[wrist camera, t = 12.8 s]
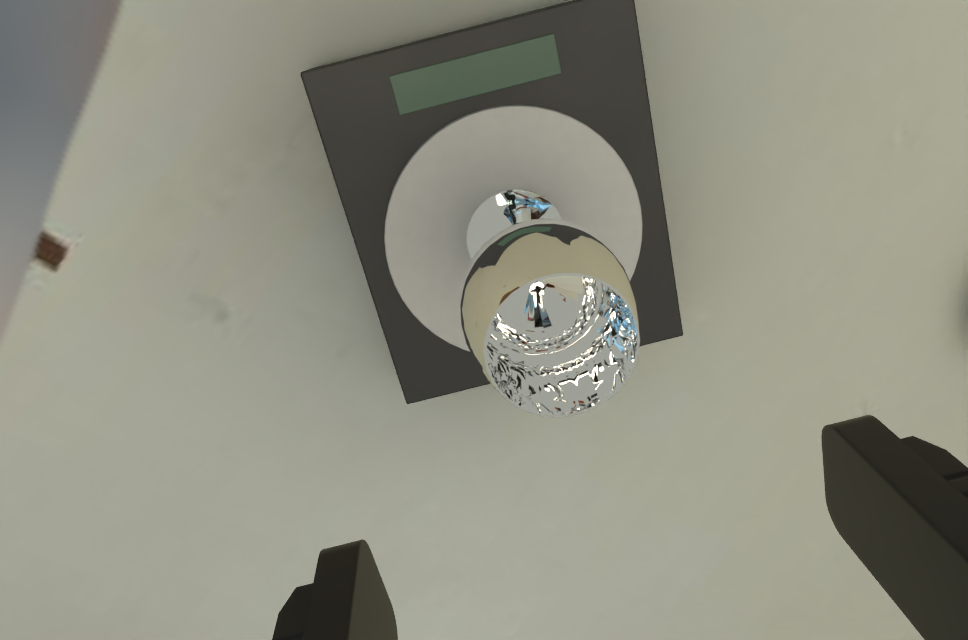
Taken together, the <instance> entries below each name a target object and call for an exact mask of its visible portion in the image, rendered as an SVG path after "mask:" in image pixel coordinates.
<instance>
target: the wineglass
mask: <svg viewBox="0 0 968 640" xmlns="http://www.w3.org/2000/svg"><path fill="white" fill-rule="evenodd" d="M466 246H467V251H468V254H469V257H470V259H471V262H470V264H469V266H468V268H467V270H466V272H465V275H464V278H463V281H462V285H461V291H460V297H459V315H460V322H461V327H462V331H463V335H464V338H465V342H466V344H467V346H468V348H469V350H470V352H471V355H472V357H473V359H474V360H475V362H476V364H477V365H478V367H479V368H480V370H481V371H482V373H483V374H484V375H485V377H486V378H487V379H488V380H489V382H490V383H491V384H492V385H493V387H494V388H495V389H496V390H497V391H498V392H499V393H500V394H501V395H502V396H503V397H504V398H505V399H506V400H508V401H509V402H510V403H512V404H513V405H515V406H516V407H518V408H520V409H522V410H524V411H527V412H529V413H532V414H536V415H540V416H548V417H567V416H571V415H576V414H581V413H583V412H586V411H589V410H591V409H594V408H596V407H597V406H599V405H601V404H602V403H604V402H605V401H607V400H609V399H610V398H611V397H612V396H613V395H614V394H615V393H616V392H617V391H618V390H620V389H621V387H622V386H623V385H624V383H625V382H626V380H627V379H628V378H629V376H630V375H631V373H632V370H633V368H634V365H635V363H636V360H637V358H638V352H639V345H640V325H639V315H638V309H637V303H636V298H635V294H634V291H633V288H632V286H631V283H630V280H629V278H628V276H627V274H626V272H625V269H624V267H623V265H622V264H621V263H620V261H619V260H618V258H617V257H616V256H615V254H614V253H613V252H612V251H611V249H610V248H609V247H608V246H607V245H606V244H605V243H604V242H603V241H602V240H600V239H599V238H598V237H597V236H596V235H594V234H593V233H591V232H589V231H587V230H585V229H584V228H582V227H580V226H577V225H575V224H572V223H570V222H566V221H563V219H562V217H561V215H560V213H559V211H558V209H557V208H556V207H555V205H554V204H553V203H552V202H551V201H549V200H548V199H547V198H546V197H544V196H543V195H541V194H539V193H536V192H534V191H532V190H526V189H520V188H518V189H507V190H504V191H501V192H497V193H495V194H493V195H492V196H490V197H488V198H487V199H486V200H484V201H483V202H482V203H481V204H480V205H479V206H478V207H477V209H476V210H475V211H474V213H473V214H472V216H471V219H470V221H469V223H468V227H467V232H466Z"/></svg>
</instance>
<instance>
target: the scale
mask: <svg viewBox="0 0 968 640" xmlns="http://www.w3.org/2000/svg"><path fill="white" fill-rule="evenodd" d="M301 77H302V80H303V84H304V87H305V90H306V93H307V96H308V99H309V102H310V105H311V108H312V112H313V115H314V118H315V121H316V124H317V127H318V130H319V133H320V136H321V139H322V143H323V146H324V149H325V152H326V155H327V158H328V161H329V164H330V167H331V170H332V174H333V177H334V180H335V183H336V186H337V189H338V192H339V195H340V198H341V201H342V205H343V208H344V211H345V214H346V217H347V220H348V223H349V226H350V229H351V233H352V236H353V239H354V242H355V245H356V248H357V251H358V254H359V257H360V260H361V264H362V267H363V270H364V273H365V276H366V279H367V282H368V285H369V288H370V291H371V295H372V298H373V301H374V304H375V307H376V310H377V313H378V316H379V319H380V322H381V326H382V329H383V332H384V335H385V338H386V341H387V344H388V347H389V350H390V353H391V357H392V360H393V363H394V366H395V369H396V372H397V375H398V378H399V381H400V385H401V388H402V391H403V394H404V397H405V400H406V403H407V404H410V403H414V402H418V401H422V400H426V399H430V398H434V397H438V396H442V395H446V394H450V393H454V392H458V391H462V390H466V389H470V388H474V387H478V386H482V385H486V384H490V382H489V380H488V379H487V378H486V377H485V375H484V374H483V373H482V371H481V370H480V368H479V367H478V365H477V364H476V362H475V360H474V359H473V357H472V355H471V352H470V350H469V348H468V346H467V344H466V342H465V338H464V335H463V331H462V327H461V322H460V315H459V297H460V291H461V285H462V281H463V278H464V275H465V272H466V270H467V268H468V266H469V264H470V262H471V259H470V257H469V254H468V251H467V246H466V232H467V227H468V223H469V221H470V219H471V216H472V214H473V213H474V211H475V210H476V209H477V207H478V206H479V205H480V204H481V203H482V202H483V201H484V200H486V199H487V198H488V197H490V196H492V195H493V194H495V193H497V192H501V191H504V190H507V189H518V188H520V189H526V190H532V191H534V192H536V193H539V194H541V195H543V196H544V197H546V198H547V199H548V200H549V201H551V202H552V203H553V204H554V205H555V207H556V208H557V209H558V211H559V213H560V215H561V217H562V219H563V221H566V222H570V223H572V224H575V225H577V226H580V227H582V228H584V229H585V230H587V231H589V232H591V233H593V234H594V235H596V236H597V237H598V238H599V239H600V240H602V241H603V242H604V243H605V244H606V245H607V246H608V247H609V248H610V249H611V251H612V252H613V253H614V254H615V256H616V257H617V258H618V260H619V261H620V263H621V264H622V265H623V267H624V269H625V272H626V274H627V276H628V278H629V280H630V283H631V286H632V288H633V291H634V294H635V298H636V303H637V309H638V315H639V325H640V345H639V346H642V345H646V344H650V343H654V342H658V341H662V340H666V339H670V338H674V337H678V336H682V335H683V331H682V324H681V318H680V311H679V304H678V297H677V290H676V283H675V277H674V270H673V263H672V256H671V249H670V242H669V235H668V229H667V222H666V215H665V208H664V201H663V194H662V188H661V181H660V174H659V167H658V160H657V153H656V146H655V140H654V133H653V126H652V119H651V112H650V105H649V99H648V92H647V85H646V78H645V71H644V64H643V57H642V51H641V44H640V37H639V30H638V23H637V16H636V10H635V3H634V0H573V1H569V2H565V3H561V4H557V5H553V6H550V7H546V8H542V9H538V10H534V11H530V12H527V13H523V14H519V15H515V16H511V17H507V18H504V19H500V20H496V21H492V22H488V23H484V24H481V25H477V26H473V27H469V28H465V29H461V30H458V31H454V32H450V33H446V34H442V35H438V36H435V37H431V38H427V39H423V40H419V41H415V42H412V43H408V44H404V45H400V46H396V47H392V48H389V49H385V50H381V51H377V52H373V53H369V54H366V55H362V56H358V57H354V58H350V59H346V60H343V61H339V62H335V63H331V64H327V65H323V66H320V67H316V68H312V69H309V70H306V71H303V72H301Z"/></svg>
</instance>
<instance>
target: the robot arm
mask: <svg viewBox="0 0 968 640" xmlns="http://www.w3.org/2000/svg"><path fill="white" fill-rule="evenodd" d="M822 451H823V466H824V481H825V496H826V503H827V507H828V511H829V514H830V516H831V519H832V521H833V523H834V525H835V527H836V529H837V531H838V532H839V534H840V535H841V536H842V538H843V539H844V540H845V541H846V543H847V544H848V545H849V546H850V548H851V549H852V550H853V551H854V553H855V554H856V555H857V556H858V558H859V559H860V560H861V561H862V563H863V564H864V565H865V566H866V567H867V569H868V570H869V571H870V572H871V574H872V575H873V576H874V577H875V579H876V580H877V581H878V582H879V584H880V585H881V586H882V587H883V589H884V590H885V591H886V592H887V593H888V595H889V596H890V597H891V598H892V600H893V601H894V602H895V603H896V605H897V606H898V607H899V608H900V610H901V611H902V612H903V613H904V615H905V616H906V617H907V618H908V619H909V621H910V622H911V623H912V624H913V626H914V627H915V628H916V629H917V631H918V632H919V633H920V634H921V636H922V637H923V638H924V639H925V640H968V468H967V467H966V466H965V465H964V464H962V463H961V462H960V461H959V460H958V459H956V458H955V457H954V456H953V455H951V454H950V453H949V452H948V451H947V450H945V449H942V448H940V447H938V446H935V445H933V444H931V443H928V442H926V441H924V440H921V439H919V438H917V437H914V436H911V437H907V438H903V439H900V438H898V437H897V436H896V435H895V434H894V433H893V432H892V431H890V430H889V429H888V428H887V427H886V426H885V425H884V424H882V423H881V422H880V421H879V420H878V419H877V418H875V417H874V416H871V415H866V416H862V417H858V418H854V419H850V420H846V421H842V422H838V423H834V424H830V425H826V426H825V427H824V428H823V430H822ZM272 640H398V636H397V626H396V620H395V615H394V611H393V608H392V604H391V602H390V599H389V596H388V594H387V591H386V589H385V586H384V584H383V581H382V578H381V576H380V573H379V571H378V568H377V566H376V563H375V560H374V558H373V555H372V553H371V550H370V548H369V546H368V544H367V542H366V541H365V540H359V541H355V542H351V543H347V544H343V545H339V546H335V547H331V548H327V549H323V550H321V552H320V554H319V558H318V563H317V568H316V573H315V578H314V583H312V584H308V585H304V586H300V587H296V589H295V590H294V592H293V593H292V594H291V596H290V597H289V599H288V600H287V602H286V603H285V605H284V606H283V608H282V609H281V611H280V612H279V614H278V618H277V622H276V626H275V631H274V635H273V639H272Z"/></svg>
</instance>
